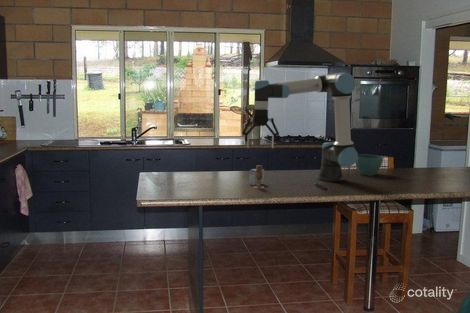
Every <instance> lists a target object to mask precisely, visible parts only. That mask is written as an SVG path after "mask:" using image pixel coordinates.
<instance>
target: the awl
mask: <svg viewBox="0 0 470 313" xmlns="http://www.w3.org/2000/svg"><path fill="white" fill-rule="evenodd" d="M255 167H256V168H255V169H256V178H257V185H256V186H257V187H261V186H262V184H261V179H262V169H263V165H262V164H261V165H256V166H255Z"/></svg>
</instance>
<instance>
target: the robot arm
mask: <svg viewBox="0 0 470 313" xmlns="http://www.w3.org/2000/svg"><path fill="white" fill-rule="evenodd" d="M355 88H356V81H355V78H354V76H353V75H351V73H347V72H331V73H326V74H323V75H318V76H315V77H314V78H309V79H308V78H307V79H301V80H300V79H299V80H293V81H283V82H277V83H275V82H274V83H270V82H269V80H266V79H265V80H263V79H261V80H260V79H258V80H256V81H255V83H254V101H253V102H254V103H253V104H254V107H253V108H254V111H253V117H248V120H247V122H246V125H245V126H244V129H242V132H241V134H242V135H243V136H244V138H245V139H244V140H245V142H246V143H247V144H246V148H247V149H248V148H250V147H249V144H250V142H249V141H250V140H249V139H250V135H249V134H250V133H251V132H252V131H253V130H254V129H255V127H256V126H257V127H266V128H267V129H268V131H269V132H270V133H271V134H272V135H271V149H274V145H275V144H274V143H276V141H277V136H278V135H280V132H279V130H278V128H277V126H276V124H275V122H274V118H273V117H269V99H286V98H289V96H290V95H298V94H305V93H306V94H307V93H312V92H313V93H314V92H316V93H330V95H331V98H332V99H333V104H334V105H333V106H334V127H335V128H334V129H335V141H334V142H333V141H332V142H324V143H322V147H321V167H320V170H319V172H318V174H317V175H318V176H317V179H318V180H319V181H323V182H343V180H344V174H343V171H342V167H343V168H345V167H347V168H349V167H351V166H353V165H354V164H355V162H356V160H357V157H358V155H359V153H358V151H357V150H356V149H355V145H354V144H355V143H354V141H352V140H351V139H352V137H351V136H352V135H351V134H352V133H351V109H350V108H351V107H350V99H351V98H352V96H353V92H354V89H355ZM252 121H253V124H252V125H251V127H250V128H249V129H248V127H249V125H250V124H251V122H252ZM268 122H270V123H271V125H272V127H273V129H274V130H273V129H272V128H271V126H270V125H269V124H268ZM247 129H248V130H247Z"/></svg>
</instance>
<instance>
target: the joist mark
mask: <svg viewBox="0 0 470 313" xmlns="http://www.w3.org/2000/svg"><path fill="white" fill-rule="evenodd" d="M253 189H266V188H265V186H262V185H261V187H257V185H255V186H254V185H253Z"/></svg>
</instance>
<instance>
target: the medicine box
mask: <svg viewBox="0 0 470 313" xmlns="http://www.w3.org/2000/svg"><path fill="white" fill-rule="evenodd" d="M248 181H249V182H248V183H249V185H250V186H253V187H254V186H257V178H256V168H252V169H249V180H248ZM264 184H265V169H263V168H262V179H261V185H264Z"/></svg>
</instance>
